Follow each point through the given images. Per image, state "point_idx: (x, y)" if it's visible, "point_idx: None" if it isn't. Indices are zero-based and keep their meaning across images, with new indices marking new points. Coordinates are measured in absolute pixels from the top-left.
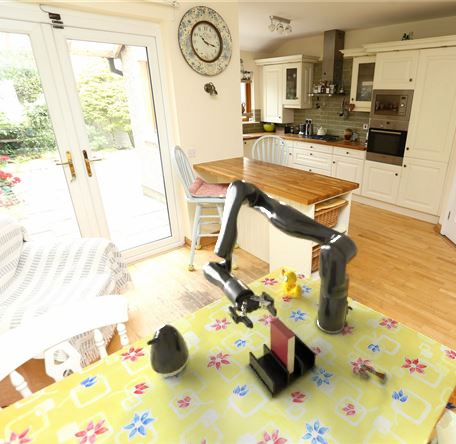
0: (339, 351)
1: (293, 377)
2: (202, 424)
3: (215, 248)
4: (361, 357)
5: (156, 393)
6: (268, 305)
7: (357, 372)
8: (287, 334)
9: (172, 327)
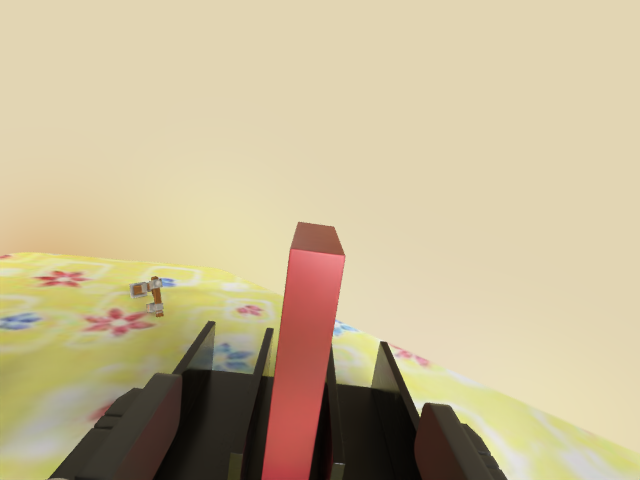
0: (82, 365)
1: None
2: (611, 464)
3: None
4: (83, 328)
5: None
6: (107, 474)
7: (162, 307)
8: (321, 228)
9: None
